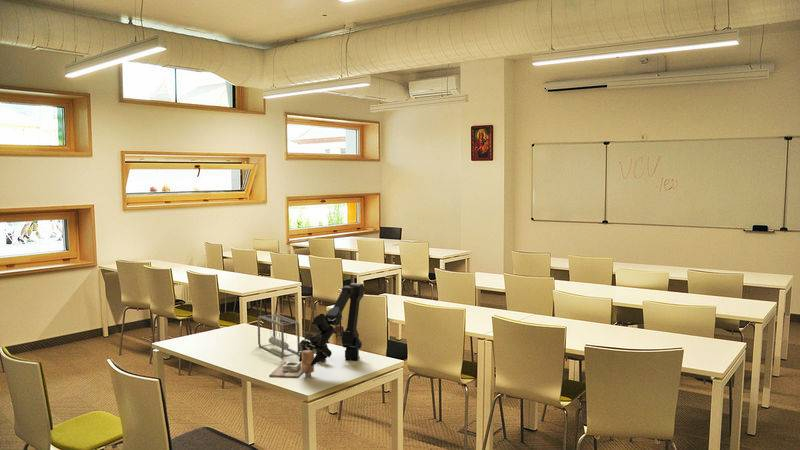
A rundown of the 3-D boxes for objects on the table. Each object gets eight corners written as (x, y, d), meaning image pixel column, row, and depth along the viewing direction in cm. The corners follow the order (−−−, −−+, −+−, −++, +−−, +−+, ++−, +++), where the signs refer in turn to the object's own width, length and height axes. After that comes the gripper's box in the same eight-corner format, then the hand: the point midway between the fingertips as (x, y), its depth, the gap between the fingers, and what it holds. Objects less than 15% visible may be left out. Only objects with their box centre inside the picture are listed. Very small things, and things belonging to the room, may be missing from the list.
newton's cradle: (300, 355, 322) (299, 322, 321) (282, 358, 316) (281, 325, 315) (274, 343, 346) (274, 312, 345) (257, 346, 339) (257, 315, 338)
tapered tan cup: (315, 374, 288) (315, 350, 287) (312, 378, 282) (311, 353, 282) (304, 374, 289) (303, 349, 288) (300, 378, 283) (300, 353, 282)
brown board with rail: (311, 364, 305) (311, 357, 305) (298, 377, 284) (298, 370, 283) (284, 363, 307) (284, 356, 307) (269, 376, 286) (269, 369, 285)
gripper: (302, 323, 293) (283, 349, 286) (326, 329, 280) (307, 357, 273) (316, 336, 299) (297, 362, 292) (339, 343, 286) (321, 371, 279)
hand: (305, 363), depth 284 cm, fingers open, 9 cm apart
